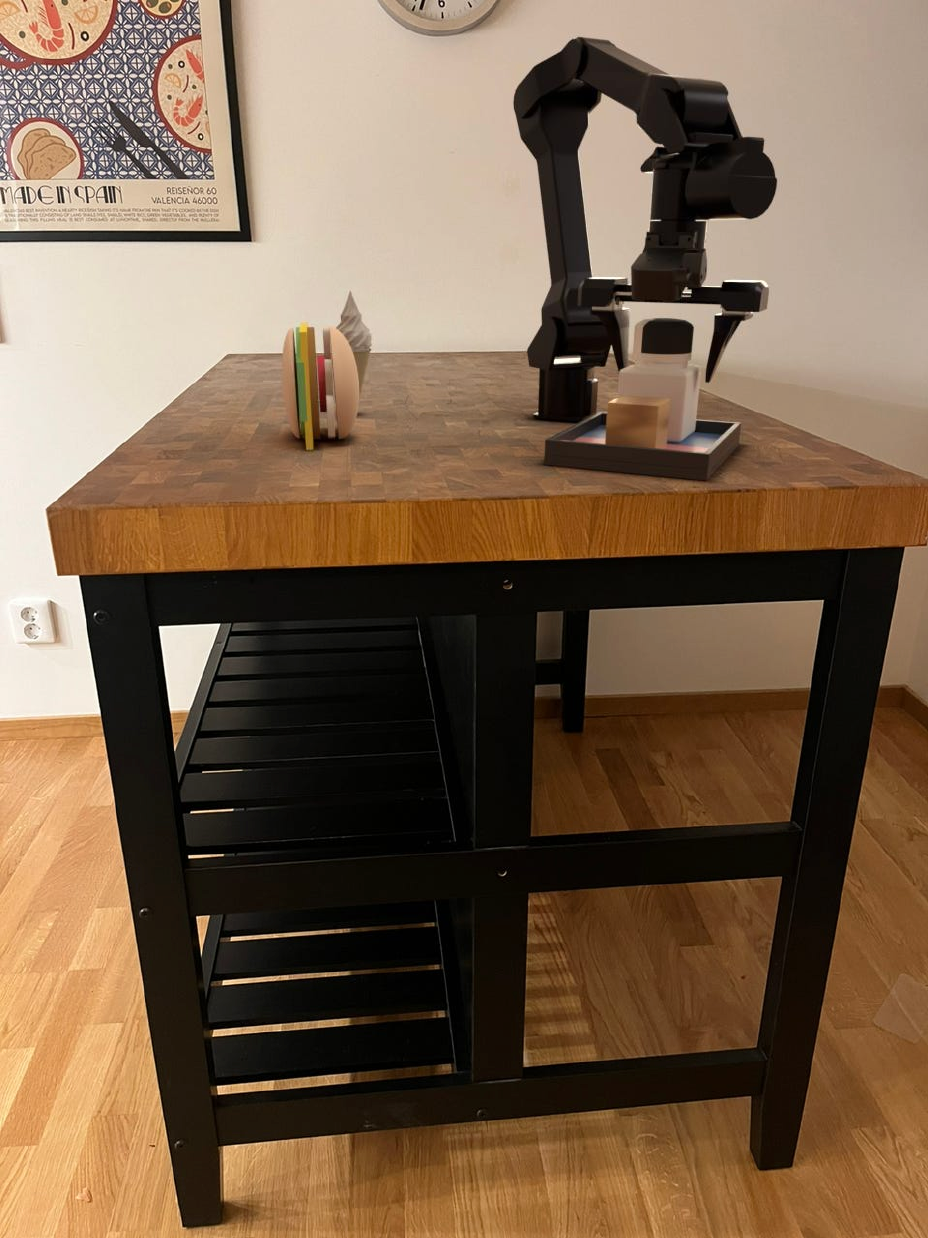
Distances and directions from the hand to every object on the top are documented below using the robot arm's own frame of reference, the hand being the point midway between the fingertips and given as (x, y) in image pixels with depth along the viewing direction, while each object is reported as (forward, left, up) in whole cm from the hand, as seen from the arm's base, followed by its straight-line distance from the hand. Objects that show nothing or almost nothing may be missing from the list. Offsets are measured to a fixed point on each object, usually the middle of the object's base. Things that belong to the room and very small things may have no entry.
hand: (664, 379), depth 99 cm
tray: (0, -6, -7) cm, 9 cm away
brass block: (0, -11, -6) cm, 12 cm away
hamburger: (-35, -13, -7) cm, 38 cm away
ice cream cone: (-40, +2, -7) cm, 41 cm away
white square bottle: (0, -1, -6) cm, 6 cm away
